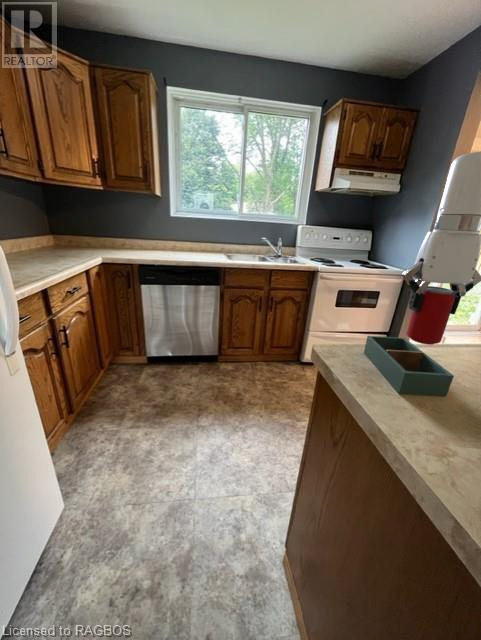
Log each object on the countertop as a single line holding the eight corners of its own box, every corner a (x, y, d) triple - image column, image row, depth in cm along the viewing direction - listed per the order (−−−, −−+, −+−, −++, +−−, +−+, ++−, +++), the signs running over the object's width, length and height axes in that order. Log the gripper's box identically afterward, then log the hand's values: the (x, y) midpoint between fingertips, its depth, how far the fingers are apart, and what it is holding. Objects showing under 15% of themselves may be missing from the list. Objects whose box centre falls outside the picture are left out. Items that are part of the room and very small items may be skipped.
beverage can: (447, 344, 60) (464, 292, 56) (426, 348, 58) (443, 293, 54) (418, 333, 66) (432, 284, 62) (398, 336, 64) (412, 286, 60)
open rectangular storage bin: (399, 354, 80) (404, 336, 78) (446, 397, 61) (454, 373, 59) (363, 352, 80) (367, 334, 78) (398, 394, 61) (405, 370, 59)
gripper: (486, 227, 57) (458, 308, 63) (402, 223, 57) (383, 304, 63) (519, 228, 50) (484, 319, 56) (424, 223, 50) (399, 314, 56)
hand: (431, 310), depth 59 cm, fingers closed on beverage can, 6 cm apart
